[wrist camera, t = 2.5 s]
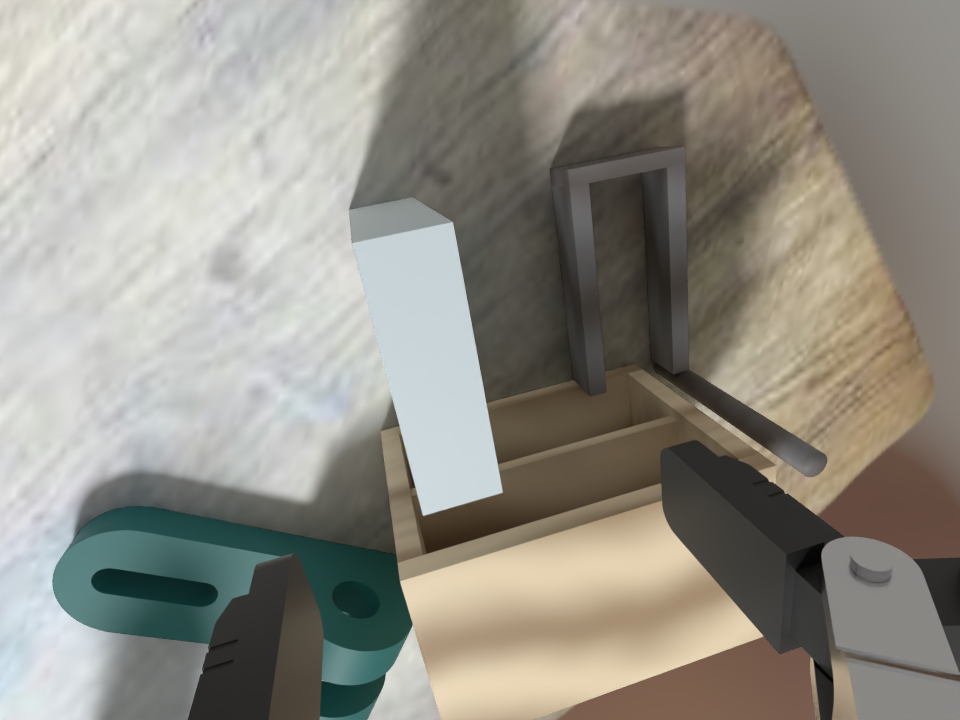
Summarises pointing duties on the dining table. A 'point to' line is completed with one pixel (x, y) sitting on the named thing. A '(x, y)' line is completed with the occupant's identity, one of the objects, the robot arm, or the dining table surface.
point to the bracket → (235, 591)
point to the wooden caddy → (581, 499)
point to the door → (427, 349)
